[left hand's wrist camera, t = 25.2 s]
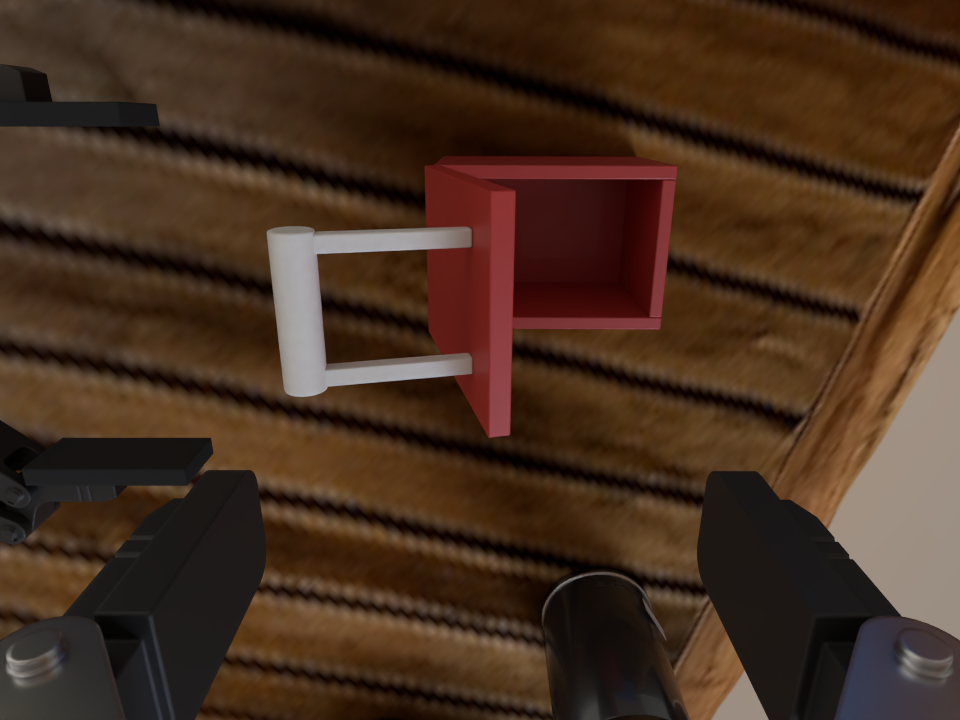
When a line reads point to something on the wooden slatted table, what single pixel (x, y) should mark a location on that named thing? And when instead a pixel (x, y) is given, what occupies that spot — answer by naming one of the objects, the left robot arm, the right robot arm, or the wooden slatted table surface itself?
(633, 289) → the chest
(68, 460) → the right robot arm
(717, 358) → the wooden slatted table surface
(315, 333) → the lid
